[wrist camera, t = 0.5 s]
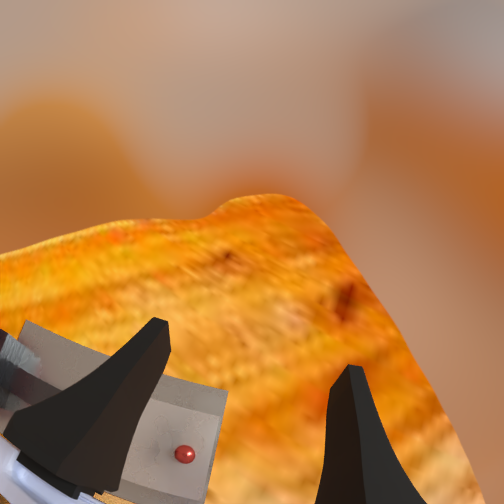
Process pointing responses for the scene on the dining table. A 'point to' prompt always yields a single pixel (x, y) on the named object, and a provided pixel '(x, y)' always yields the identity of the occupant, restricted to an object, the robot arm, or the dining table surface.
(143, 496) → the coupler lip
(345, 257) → the dining table surface
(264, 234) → the dining table surface
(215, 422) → the block
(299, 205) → the dining table surface
